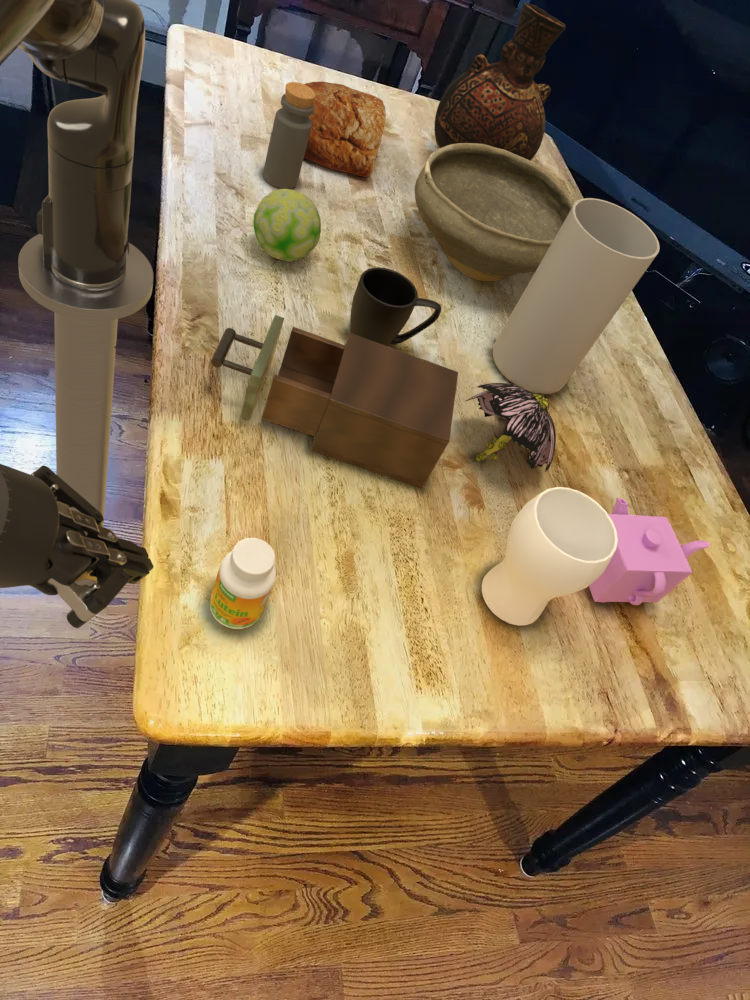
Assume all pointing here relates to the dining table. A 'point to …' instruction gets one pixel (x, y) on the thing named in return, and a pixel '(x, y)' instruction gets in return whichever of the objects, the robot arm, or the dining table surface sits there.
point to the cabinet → (388, 412)
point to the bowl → (490, 209)
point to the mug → (386, 307)
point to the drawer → (288, 376)
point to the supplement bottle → (243, 584)
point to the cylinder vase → (573, 294)
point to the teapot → (643, 559)
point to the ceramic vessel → (502, 92)
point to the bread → (345, 128)
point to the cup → (549, 554)
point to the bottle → (289, 136)
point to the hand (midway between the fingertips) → (141, 564)
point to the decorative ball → (287, 224)
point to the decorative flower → (519, 422)
